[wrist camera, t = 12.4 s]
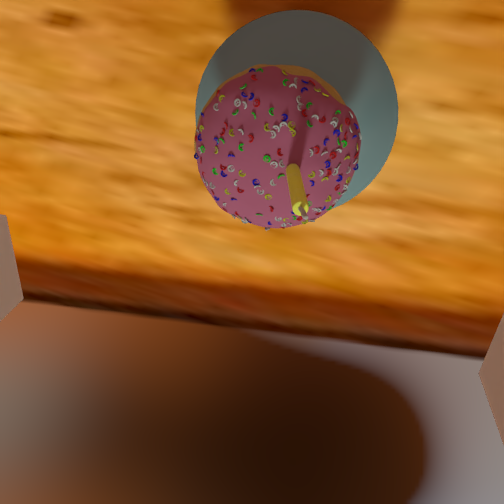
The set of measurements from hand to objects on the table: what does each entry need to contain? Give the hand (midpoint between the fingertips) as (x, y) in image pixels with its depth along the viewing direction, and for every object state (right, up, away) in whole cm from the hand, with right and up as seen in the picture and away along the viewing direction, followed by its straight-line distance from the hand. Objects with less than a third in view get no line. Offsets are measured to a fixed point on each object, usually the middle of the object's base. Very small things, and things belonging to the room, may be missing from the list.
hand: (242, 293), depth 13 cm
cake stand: (+4, +13, +23) cm, 27 cm away
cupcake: (+2, +9, +16) cm, 18 cm away
